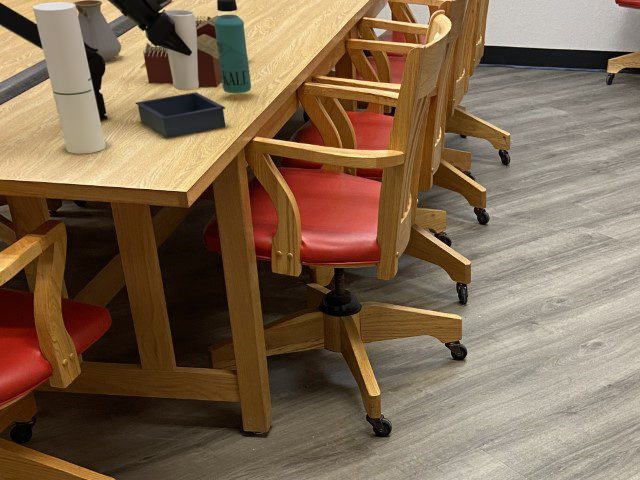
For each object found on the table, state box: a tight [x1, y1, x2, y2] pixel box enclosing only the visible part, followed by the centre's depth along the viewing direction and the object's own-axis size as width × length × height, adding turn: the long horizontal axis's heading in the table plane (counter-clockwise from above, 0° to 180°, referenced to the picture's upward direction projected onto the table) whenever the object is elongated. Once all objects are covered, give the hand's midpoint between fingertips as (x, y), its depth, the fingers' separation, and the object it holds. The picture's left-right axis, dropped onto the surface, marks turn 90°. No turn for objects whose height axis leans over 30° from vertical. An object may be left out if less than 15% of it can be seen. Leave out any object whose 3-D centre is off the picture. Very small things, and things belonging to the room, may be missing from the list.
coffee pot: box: [72, 0, 122, 63], centre depth 232 cm, size 21×12×15 cm, turn 12°
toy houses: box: [140, 15, 222, 88], centre depth 237 cm, size 45×20×10 cm, turn 2°
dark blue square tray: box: [135, 91, 226, 139], centre depth 198 cm, size 13×13×4 cm
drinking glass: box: [162, 9, 200, 92], centre depth 205 cm, size 7×7×15 cm
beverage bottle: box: [214, 0, 252, 94], centre depth 210 cm, size 6×7×20 cm
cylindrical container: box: [32, 1, 106, 155], centre depth 179 cm, size 7×7×25 cm
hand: (188, 50), depth 205 cm, fingers closed on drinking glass, 6 cm apart
